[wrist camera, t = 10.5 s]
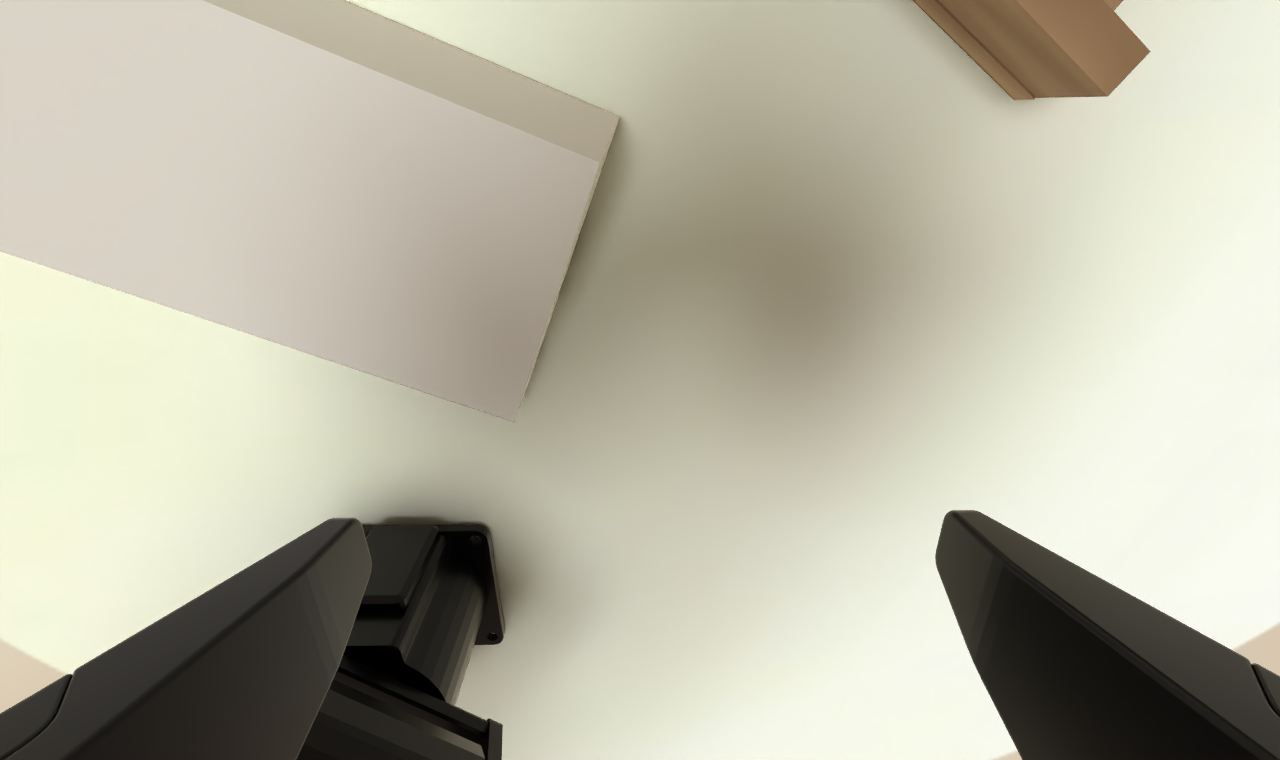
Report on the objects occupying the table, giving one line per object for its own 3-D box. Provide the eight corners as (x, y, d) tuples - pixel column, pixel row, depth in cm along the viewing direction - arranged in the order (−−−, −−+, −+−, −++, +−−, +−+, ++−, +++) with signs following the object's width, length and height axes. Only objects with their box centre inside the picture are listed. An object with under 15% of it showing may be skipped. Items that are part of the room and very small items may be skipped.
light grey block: (544, 343, 25) (622, 109, 19) (514, 422, 21) (599, 162, 15) (-428, -2, 20) (-756, -477, 14) (-689, 22, 16) (-1295, -612, 10)
